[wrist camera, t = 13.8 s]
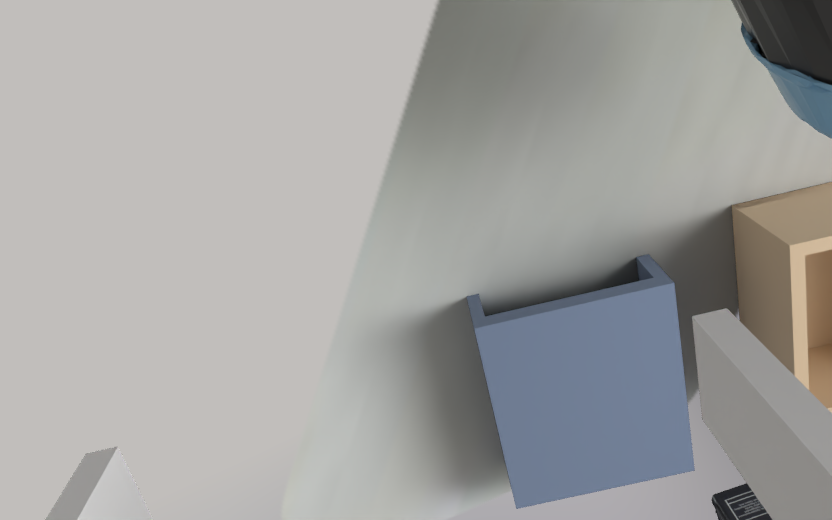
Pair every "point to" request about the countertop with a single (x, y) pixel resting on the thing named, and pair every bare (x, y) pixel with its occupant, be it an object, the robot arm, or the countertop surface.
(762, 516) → the small box
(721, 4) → the countertop surface
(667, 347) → the lid
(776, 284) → the tray
